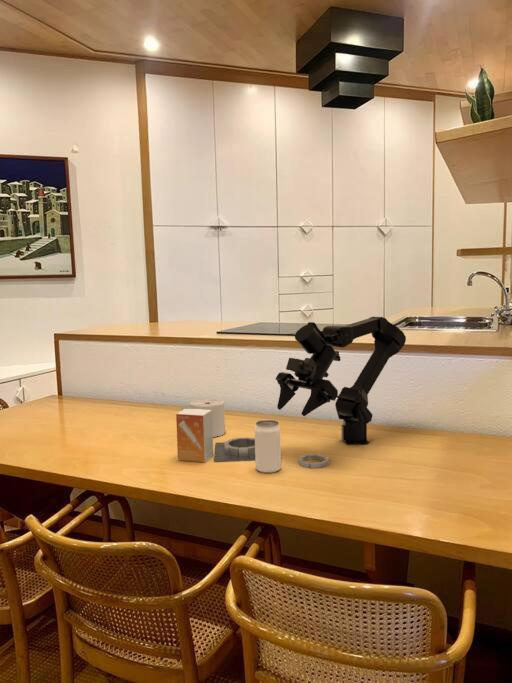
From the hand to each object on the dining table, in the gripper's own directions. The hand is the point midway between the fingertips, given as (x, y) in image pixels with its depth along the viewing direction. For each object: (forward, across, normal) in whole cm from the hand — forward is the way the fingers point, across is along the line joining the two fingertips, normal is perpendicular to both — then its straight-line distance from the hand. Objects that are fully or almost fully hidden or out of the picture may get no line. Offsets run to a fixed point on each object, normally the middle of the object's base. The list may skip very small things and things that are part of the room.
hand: (290, 411), depth 138 cm
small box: (+22, -20, -3) cm, 29 cm away
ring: (+7, +5, +12) cm, 15 cm away
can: (+15, 0, +3) cm, 16 cm away
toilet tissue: (+11, -37, +8) cm, 40 cm away
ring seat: (+12, -15, +6) cm, 21 cm away
